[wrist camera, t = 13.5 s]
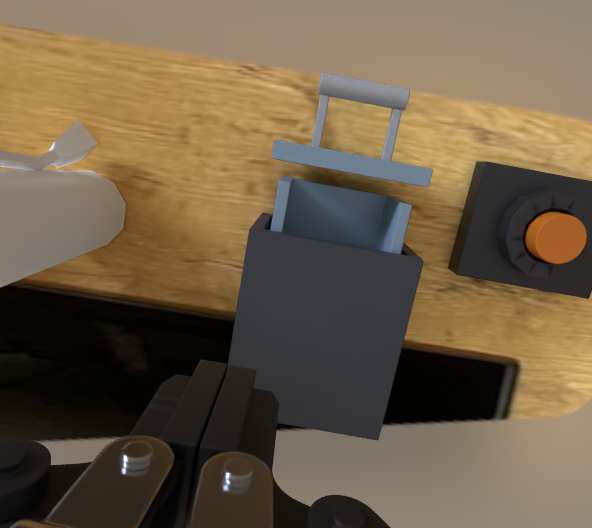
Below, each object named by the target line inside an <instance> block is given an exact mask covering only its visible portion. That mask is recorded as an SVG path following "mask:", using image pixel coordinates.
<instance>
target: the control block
mask: <svg viewBox="0 0 592 528" xmlns="http://www.w3.org/2000/svg"><path fill="white" fill-rule="evenodd" d="M546 212H558V213H563V214H567V215H571V216H574V217H576V218H578V219H579V220H580V221H581V222H582V223H583V225H584V227H585V229H586V234H587V239H586V244H585V246H584V248H583V250H582V251H581V253H580V254H579V255H578V256H577V257H576V258H574V259H573V260H571V261H569V262H566V263H562V264H553V263H549V262H547V261H545V260H542V259H540V258H538V257H536V256H534V255H533V254H531V253H530V251H529V250H528V248H527V246H526V243H525V233H526V230H527V227H528V226H529V224H530V223H531V222H532V220H533V219H535V218H536V217H537V216H539V215H541V214H543V213H546ZM448 268H449V269H450V270H451V271H452V272H454V273H455V274H456V275H461V276H467V277H472V278H478V279H483V280H488V281H494V282H499V283H505V284H510V285H516V286H521V287H527V288H532V289H538V290H543V291H549V292H554V293H560V294H565V295H571V296H576V297H582V298H587V299H589V297H590V294H591V291H592V181H587V180H582V179H576V178H571V177H566V176H560V175H555V174H550V173H544V172H539V171H534V170H529V169H523V168H518V167H513V166H507V165H502V164H497V163H491V162H478V161H477V162H476V166H475V169H474V173H473V177H472V181H471V184H470V188H469V192H468V196H467V199H466V203H465V207H464V211H463V214H462V218H461V222H460V225H459V229H458V233H457V237H456V240H455V244H454V248H453V252H452V255H451V259H450V263H449V267H448Z"/></svg>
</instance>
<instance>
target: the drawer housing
mask: <svg viewBox="0 0 592 528" xmlns="http://www.w3.org/2000/svg"><path fill="white" fill-rule="evenodd" d="M272 218H273V215H272V214H266V213H262V214H261V215H260V217H259V218H258V219H257V220H256V222H255V223H254V224H253V226H252V227H251V228H250V229H249V235H248V241H247V247H246V254H245V260H244V266H243V273H242V279H241V285H240V291H239V298H238V304H237V310H236V317H235V323H234V329H233V335H232V342H231V348H230V354H229V361H228V368H229V366H230V365H234V366H240V367H246V368H251V369H257V371H256V377H255V383H254V388H257V389H262V390H268V391H273V393H274V395H275V396H276V398H277V400H278V402H279V412H278V421H277V423H282V424H287V425H293V426H299V427H305V428H310V429H316V430H322V431H327V432H333V433H339V434H345V435H350V436H356V437H362V438H367V439H373V440H378V439H379V435H380V431H381V428H382V424H383V420H384V416H385V412H386V408H387V404H388V400H389V396H390V392H391V388H392V384H393V380H394V376H395V372H396V368H397V364H398V360H399V357H400V353H401V349H402V345H403V341H404V337H405V333H406V329H407V325H408V321H409V317H410V313H411V309H412V305H413V301H414V297H415V293H416V289H417V285H418V282H419V278H420V274H421V270H422V266H423V262H424V260H422V259H421V258H420V257H419V256H418V255H417V254H416V253H415V252H414V251H412V250H411V249H410V248H409V247H408V246H407V245H406V244H405V243H403V247H402V251H401V254H396V253H391V252H386V251H380V250H375V249H369V248H364V247H358V246H353V245H347V244H342V243H336V242H331V241H325V240H320V239H315V238H309V237H304V236H298V235H293V234H287V233H282V232H276V231H271V230H270V229H271V223H272Z"/></svg>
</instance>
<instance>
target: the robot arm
mask: <svg viewBox="0 0 592 528" xmlns="http://www.w3.org/2000/svg"><path fill="white" fill-rule="evenodd" d="M256 371H257V369H251V368H246V367H240V366H234V365H230V366H229V368H228V364H223V363H217V362H211V361H206V360H200V362H199V364H198V366H197V368H196V369H195V371H194V373H193V375H192V377H188V376H182V375H175V376H173V377H172V378H170V379H168V380H167V381H165V382H163V383H162V384H161V386H160V388H159V389H158V391H157V392H156V394H155V397H153V399H152V400H151V402H150V403H149V406H147V408H146V410H145V411H144V413H143V414H142V416H141V417H140V419H139V421H138V422H137V424H136V425H135V427H134V428H133V430H132V432H131V433H130V435H129V436H127V437H123V438H120V439H117V440H115V441H113V442H111V443H110V444H108V445H107V446H106V447H105V448H104V449H103V450H102V451H101V452H100V453H99V454H98V455H97V457H96V458H95V459H94V461H92V462H88V463H80V464H66V465H50V464H51V455H50V452H49V450H48V449H47V448H46V447H45V446H43V445H42V444H40V443H37V442H35V441H30V440H6V441H1V442H0V528H187V526H188V528H390V527H389V526H388V525H387V524H386V523H385V522H384V521H383V520H382V519H381V518H380V517H379V516H378V515H377V514H376V513H375V512H374V511H373V510H372V509H371V508H369V507H368V506H367V505H365V504H364V503H362V502H360V501H358V500H356V499H354V498H351V497H347V496H342V495H329V496H325V497H322V498H320V499H318V500H316V501H315V502H314V503H313V504H312V506H311V507H310V506H308V505H305V504H303V503H301V502H299V501H297V500H295V499H293V498H291V497H290V496H288V495H287V494H286V493H284V492H283V491H282V490H281V489H280V487H279V486H278V485H277V483H276V482H275V480H274V477H273V473H272V466H273V457H274V447H275V439H276V430H277V421H278V412H279V402H278V400H277V398H276V396H275V395H274V393H273V391H268V390H262V389H257V388H254V383H255V377H256Z"/></svg>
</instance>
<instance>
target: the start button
mask: <svg viewBox="0 0 592 528" xmlns="http://www.w3.org/2000/svg"><path fill="white" fill-rule="evenodd" d="M586 239H587V234H586V229H585V227H584V225H583V223H582V222H581V221H580V220H579V219H578V218H576V217H574V216H571V215H567V214H563V213H558V212H546V213H543V214H541V215H539V216H537V217H536V218H535V219H533V220H532V222H531V223H530V224H529V226H528V227H527V230H526V233H525V243H526V246H527V248H528V250H529V251H530V253H531V254H533V255H534V256H536V257H538V258H540V259H542V260H545V261H547V262H549V263H553V264H562V263H566V262H569V261H571V260H573V259H574V258H576V257H577V256H578V255H579V254H580V253H581V251H582V250H583V248H584V246H585V244H586Z"/></svg>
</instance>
